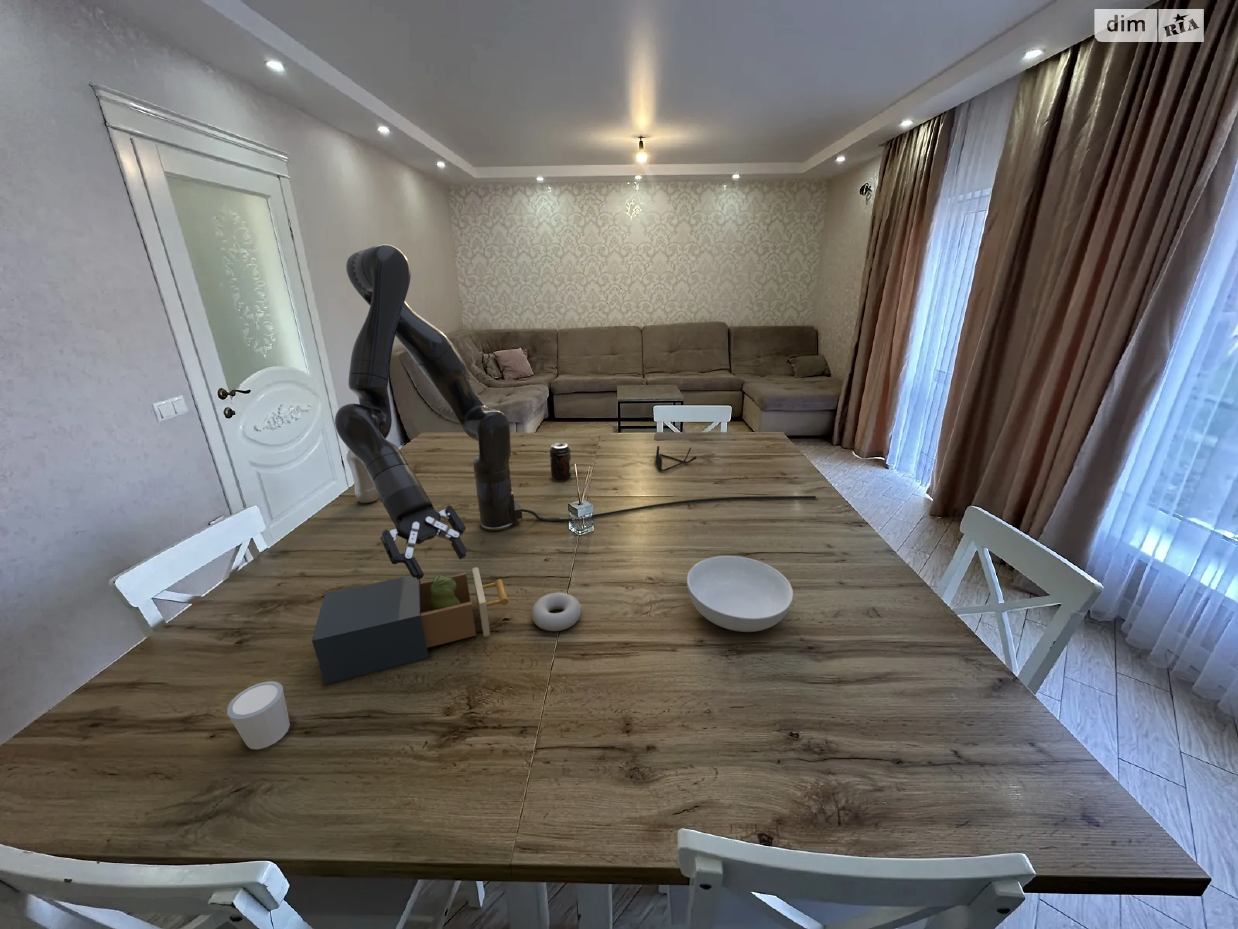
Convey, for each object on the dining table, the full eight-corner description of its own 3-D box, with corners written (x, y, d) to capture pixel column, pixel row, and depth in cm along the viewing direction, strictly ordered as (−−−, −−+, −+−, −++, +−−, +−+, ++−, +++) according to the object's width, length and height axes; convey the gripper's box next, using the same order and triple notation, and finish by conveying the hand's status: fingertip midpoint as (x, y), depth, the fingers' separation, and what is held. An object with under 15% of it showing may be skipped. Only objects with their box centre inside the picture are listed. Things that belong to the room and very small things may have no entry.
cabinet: (426, 612, 100) (418, 573, 96) (428, 658, 88) (419, 615, 85) (336, 633, 94) (324, 593, 91) (325, 685, 83) (311, 640, 79)
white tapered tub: (258, 715, 77) (245, 682, 74) (303, 712, 78) (292, 679, 75) (230, 755, 71) (214, 720, 68) (279, 751, 71) (266, 716, 69)
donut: (569, 640, 92) (589, 607, 101) (568, 626, 91) (588, 594, 100) (523, 629, 96) (546, 598, 104) (521, 615, 94) (545, 584, 103)
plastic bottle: (371, 506, 146) (357, 444, 138) (351, 504, 147) (337, 442, 140) (385, 497, 152) (372, 437, 144) (366, 495, 153) (352, 435, 146)
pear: (427, 624, 94) (419, 581, 90) (446, 608, 98) (439, 566, 94) (450, 632, 92) (442, 588, 88) (468, 615, 96) (462, 573, 92)
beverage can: (575, 477, 166) (574, 444, 161) (563, 484, 160) (561, 450, 156) (560, 473, 169) (558, 440, 165) (547, 479, 164) (545, 446, 159)
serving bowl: (729, 662, 87) (732, 631, 84) (666, 597, 104) (667, 570, 102) (812, 625, 96) (817, 596, 93) (741, 571, 113) (744, 546, 110)
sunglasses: (697, 472, 169) (698, 459, 167) (656, 472, 169) (656, 459, 167) (691, 455, 184) (692, 443, 182) (654, 455, 184) (654, 443, 182)
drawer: (502, 593, 105) (499, 562, 102) (513, 629, 94) (509, 596, 91) (403, 616, 98) (396, 584, 95) (402, 658, 87) (395, 623, 84)
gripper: (367, 498, 85) (410, 578, 82) (441, 473, 94) (482, 544, 92) (361, 515, 90) (401, 591, 87) (432, 490, 100) (470, 558, 97)
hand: (443, 567), depth 89 cm, fingers open, 8 cm apart
